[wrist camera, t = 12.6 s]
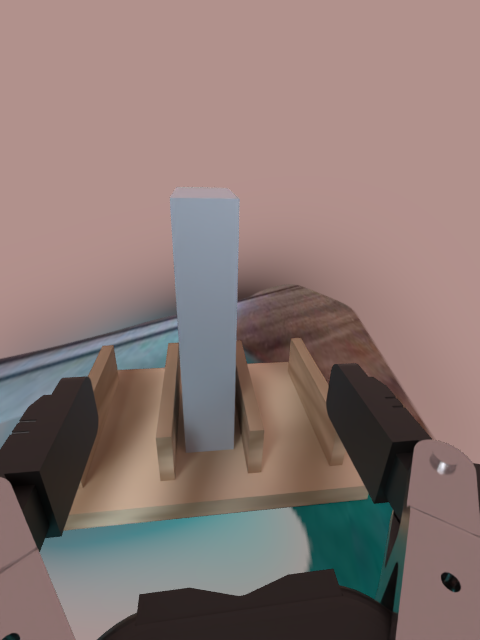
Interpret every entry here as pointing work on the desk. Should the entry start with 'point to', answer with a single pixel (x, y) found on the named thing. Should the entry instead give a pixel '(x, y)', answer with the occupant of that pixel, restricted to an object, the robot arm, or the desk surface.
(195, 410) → the grey tall block
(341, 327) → the desk surface
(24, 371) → the desk surface
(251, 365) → the rack
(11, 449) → the robot arm
